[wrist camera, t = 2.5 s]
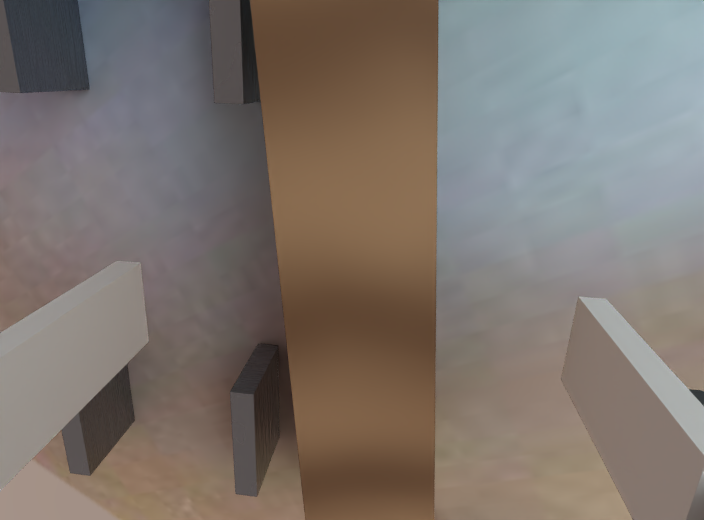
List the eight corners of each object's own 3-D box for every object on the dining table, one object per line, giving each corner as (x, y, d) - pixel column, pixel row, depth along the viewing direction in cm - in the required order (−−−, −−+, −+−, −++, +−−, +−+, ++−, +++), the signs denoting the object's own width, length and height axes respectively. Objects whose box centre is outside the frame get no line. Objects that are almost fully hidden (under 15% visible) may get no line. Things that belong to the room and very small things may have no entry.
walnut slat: (307, -49, 19) (236, -129, 11) (429, -59, 18) (439, -150, 11) (341, 435, 26) (311, 579, 19) (428, 439, 26) (433, 588, 18)
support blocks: (103, 328, 25) (50, 372, 22) (278, 345, 25) (253, 394, 21) (117, 418, 27) (70, 473, 24) (279, 437, 26) (257, 496, 23)
